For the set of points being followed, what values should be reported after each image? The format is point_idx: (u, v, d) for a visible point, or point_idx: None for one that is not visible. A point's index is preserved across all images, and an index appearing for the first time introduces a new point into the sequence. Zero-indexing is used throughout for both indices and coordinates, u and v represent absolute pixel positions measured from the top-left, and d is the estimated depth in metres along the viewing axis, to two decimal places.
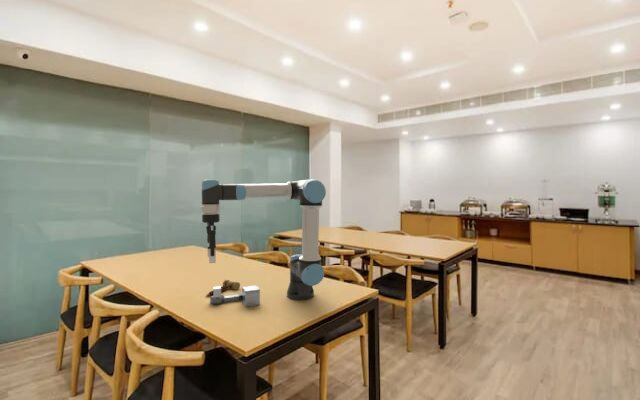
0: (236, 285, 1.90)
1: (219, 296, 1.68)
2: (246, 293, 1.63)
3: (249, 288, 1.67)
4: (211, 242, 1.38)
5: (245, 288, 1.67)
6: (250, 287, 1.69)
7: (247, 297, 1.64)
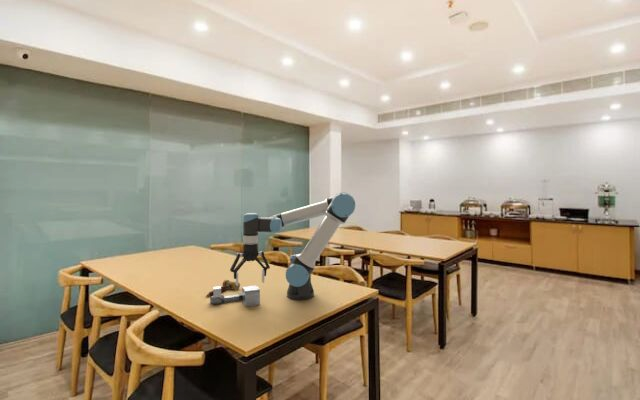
0: (236, 285, 1.90)
1: (219, 296, 1.68)
2: (246, 293, 1.63)
3: (249, 288, 1.67)
4: None
5: (245, 288, 1.67)
6: (250, 287, 1.69)
7: (247, 297, 1.64)
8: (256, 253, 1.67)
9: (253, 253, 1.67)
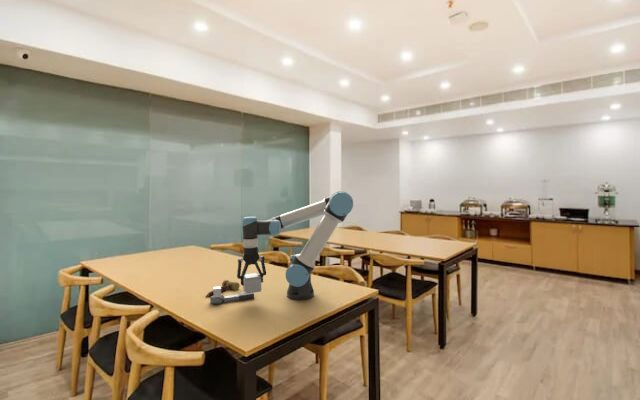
0: (235, 285, 1.89)
1: (219, 296, 1.68)
2: (247, 280, 1.63)
3: (250, 275, 1.67)
4: (237, 273, 1.65)
5: (246, 275, 1.67)
6: (251, 274, 1.69)
7: (248, 284, 1.63)
8: (257, 256, 1.67)
9: (254, 256, 1.67)
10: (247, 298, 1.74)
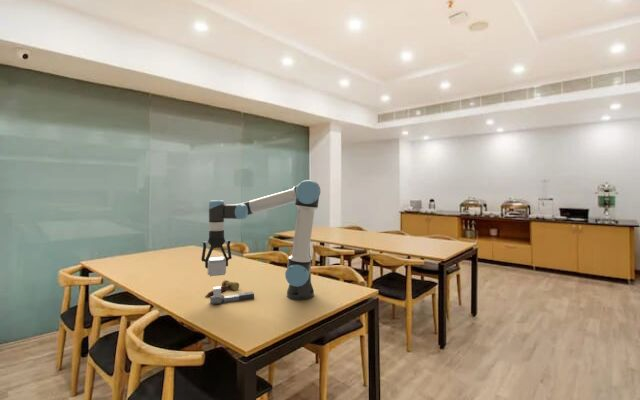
0: (235, 285, 1.89)
1: (219, 296, 1.68)
2: (211, 263, 1.63)
3: (215, 258, 1.67)
4: None
5: (211, 258, 1.67)
6: (216, 258, 1.69)
7: (212, 267, 1.64)
8: (222, 240, 1.68)
9: (220, 240, 1.67)
10: (247, 298, 1.74)
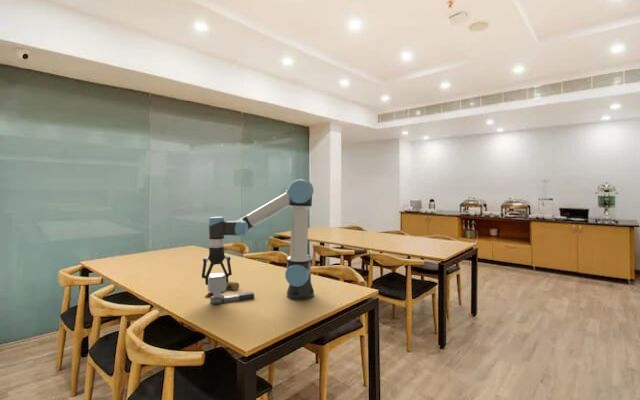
0: (235, 285, 1.89)
1: (219, 296, 1.68)
2: (211, 279, 1.64)
3: (215, 275, 1.68)
4: (202, 272, 1.66)
5: (211, 275, 1.68)
6: (216, 274, 1.69)
7: (212, 283, 1.64)
8: (223, 256, 1.68)
9: (220, 256, 1.68)
10: (247, 298, 1.74)
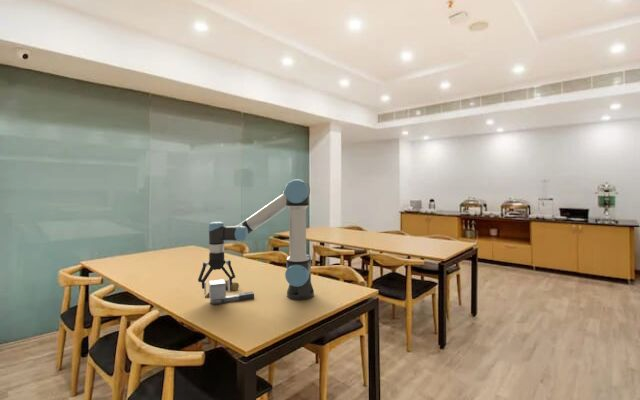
0: (235, 286, 1.89)
1: None
2: (211, 287, 1.64)
3: (215, 282, 1.68)
4: (199, 276, 1.65)
5: (211, 282, 1.68)
6: (216, 281, 1.70)
7: (212, 291, 1.64)
8: (222, 261, 1.68)
9: (220, 262, 1.68)
10: (247, 298, 1.74)
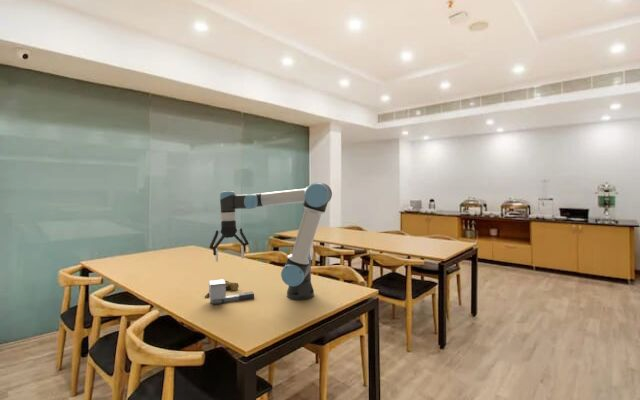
0: (235, 286, 1.89)
1: None
2: (211, 287, 1.64)
3: (215, 282, 1.68)
4: None
5: (211, 282, 1.68)
6: (216, 281, 1.70)
7: (212, 291, 1.64)
8: (234, 230, 1.72)
9: (231, 230, 1.71)
10: (247, 298, 1.74)
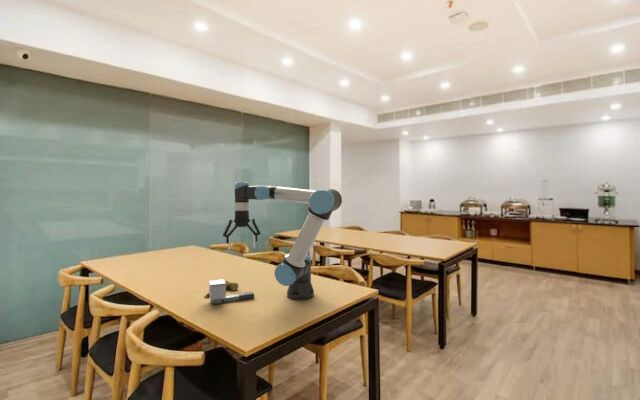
0: (234, 286, 1.88)
1: None
2: (211, 287, 1.64)
3: (215, 282, 1.68)
4: (224, 232, 1.74)
5: (211, 282, 1.68)
6: (217, 281, 1.70)
7: (212, 291, 1.64)
8: (247, 219, 1.78)
9: (244, 219, 1.77)
10: (247, 298, 1.74)
